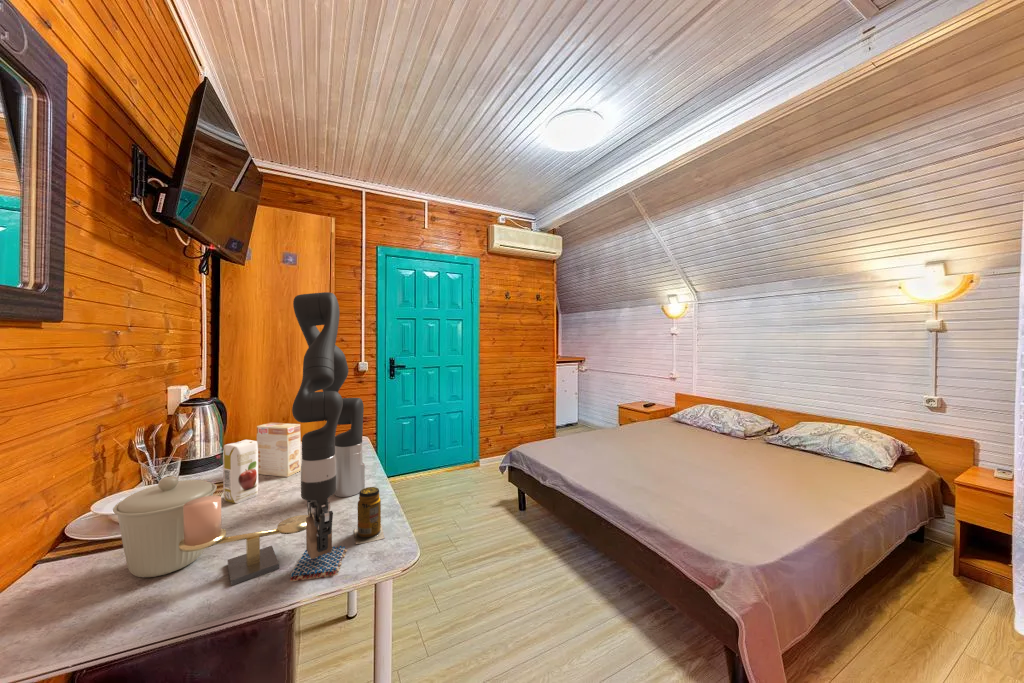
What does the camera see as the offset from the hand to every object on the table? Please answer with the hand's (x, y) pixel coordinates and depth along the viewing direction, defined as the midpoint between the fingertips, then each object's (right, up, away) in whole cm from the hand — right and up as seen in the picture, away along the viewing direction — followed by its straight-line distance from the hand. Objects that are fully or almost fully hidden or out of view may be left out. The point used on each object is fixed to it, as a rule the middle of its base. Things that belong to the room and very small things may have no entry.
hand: (319, 545), depth 87 cm
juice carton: (-46, -5, +37) cm, 59 cm away
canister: (-37, -5, +1) cm, 37 cm away
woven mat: (0, -6, 0) cm, 6 cm away
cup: (-22, +5, -7) cm, 24 cm away
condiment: (+6, -5, +14) cm, 16 cm away
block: (0, -1, 0) cm, 1 cm away
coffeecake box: (-48, -5, +60) cm, 77 cm away
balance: (-16, -5, -1) cm, 16 cm away
